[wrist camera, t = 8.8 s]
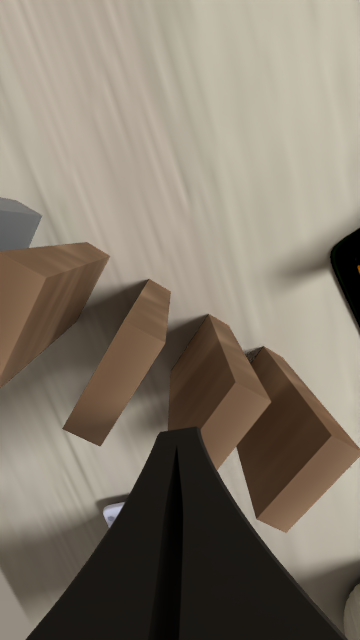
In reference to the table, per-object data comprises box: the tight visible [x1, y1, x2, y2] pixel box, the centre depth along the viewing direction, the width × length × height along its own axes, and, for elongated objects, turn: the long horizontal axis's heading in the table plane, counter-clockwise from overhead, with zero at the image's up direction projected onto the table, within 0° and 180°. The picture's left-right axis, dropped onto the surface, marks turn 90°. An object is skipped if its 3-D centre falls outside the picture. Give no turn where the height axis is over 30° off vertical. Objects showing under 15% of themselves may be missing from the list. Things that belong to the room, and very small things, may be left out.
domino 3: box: [62, 279, 171, 446], centre depth 14 cm, size 2×5×9 cm, turn 149°
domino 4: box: [0, 242, 110, 388], centre depth 14 cm, size 2×5×9 cm, turn 149°
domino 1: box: [236, 346, 360, 533], centre depth 16 cm, size 2×5×9 cm, turn 149°
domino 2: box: [168, 314, 271, 470], centre depth 15 cm, size 2×5×9 cm, turn 149°
